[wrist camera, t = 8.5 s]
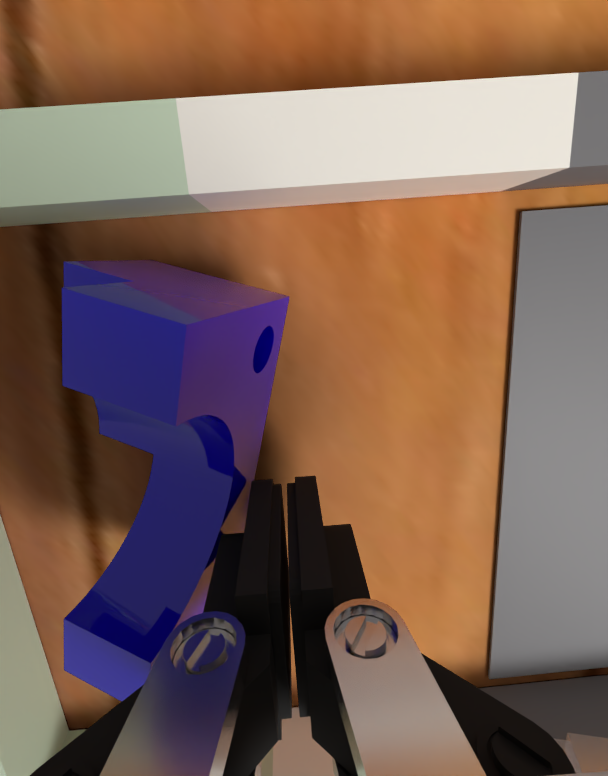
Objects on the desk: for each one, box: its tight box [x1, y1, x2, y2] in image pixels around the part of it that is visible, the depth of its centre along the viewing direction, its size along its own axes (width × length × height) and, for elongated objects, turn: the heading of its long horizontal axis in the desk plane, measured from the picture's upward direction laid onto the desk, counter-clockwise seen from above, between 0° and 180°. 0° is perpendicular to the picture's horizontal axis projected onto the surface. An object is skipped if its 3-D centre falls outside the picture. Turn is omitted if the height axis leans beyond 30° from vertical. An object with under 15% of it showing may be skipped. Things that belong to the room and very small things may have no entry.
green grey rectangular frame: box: [0, 71, 608, 776], centre depth 11 cm, size 22×19×2 cm
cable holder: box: [62, 260, 289, 701], centre depth 9 cm, size 8×4×4 cm, turn 169°
